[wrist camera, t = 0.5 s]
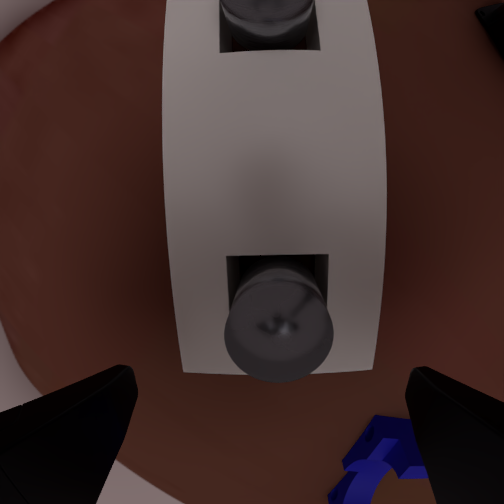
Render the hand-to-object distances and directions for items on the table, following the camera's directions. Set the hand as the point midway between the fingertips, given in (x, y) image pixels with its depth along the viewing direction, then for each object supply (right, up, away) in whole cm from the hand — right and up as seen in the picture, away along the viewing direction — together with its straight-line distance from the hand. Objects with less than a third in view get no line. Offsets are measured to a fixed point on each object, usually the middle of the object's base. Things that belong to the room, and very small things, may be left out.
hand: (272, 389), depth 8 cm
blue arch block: (+10, -16, +16) cm, 24 cm away
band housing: (+1, +9, +10) cm, 14 cm away
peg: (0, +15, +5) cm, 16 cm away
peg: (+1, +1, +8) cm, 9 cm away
